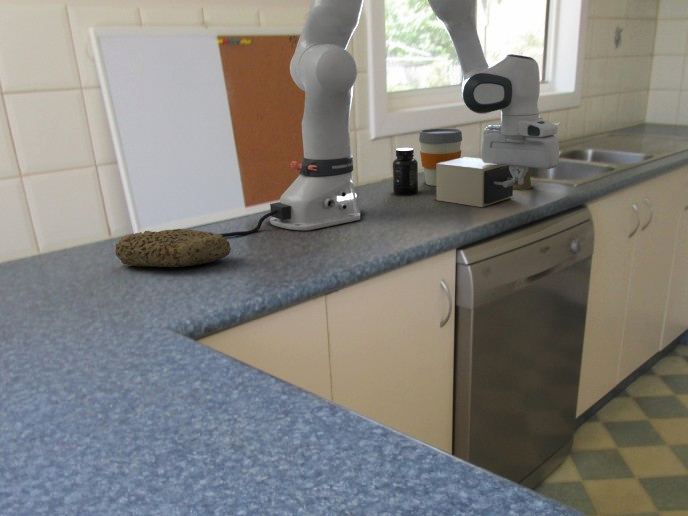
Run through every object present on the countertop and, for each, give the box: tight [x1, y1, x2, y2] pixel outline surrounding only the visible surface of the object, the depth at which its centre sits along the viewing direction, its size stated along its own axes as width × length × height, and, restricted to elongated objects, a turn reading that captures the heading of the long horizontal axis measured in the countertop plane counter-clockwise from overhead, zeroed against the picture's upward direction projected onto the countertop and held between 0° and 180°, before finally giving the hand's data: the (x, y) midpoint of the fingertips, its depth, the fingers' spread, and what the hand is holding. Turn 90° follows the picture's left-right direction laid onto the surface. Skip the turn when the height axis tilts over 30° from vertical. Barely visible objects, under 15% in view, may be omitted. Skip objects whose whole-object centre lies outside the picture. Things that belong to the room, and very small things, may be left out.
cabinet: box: [436, 156, 511, 208], centre depth 172 cm, size 15×13×10 cm
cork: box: [513, 167, 532, 191], centre depth 185 cm, size 6×6×11 cm
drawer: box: [484, 166, 516, 204], centre depth 170 cm, size 18×11×8 cm, turn 49°
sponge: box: [114, 228, 232, 268], centre depth 126 cm, size 13×8×20 cm
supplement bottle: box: [392, 147, 419, 196], centre depth 182 cm, size 7×7×12 cm
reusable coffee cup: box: [418, 127, 463, 187], centre depth 194 cm, size 13×12×15 cm
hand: (518, 184), depth 163 cm, fingers closed
